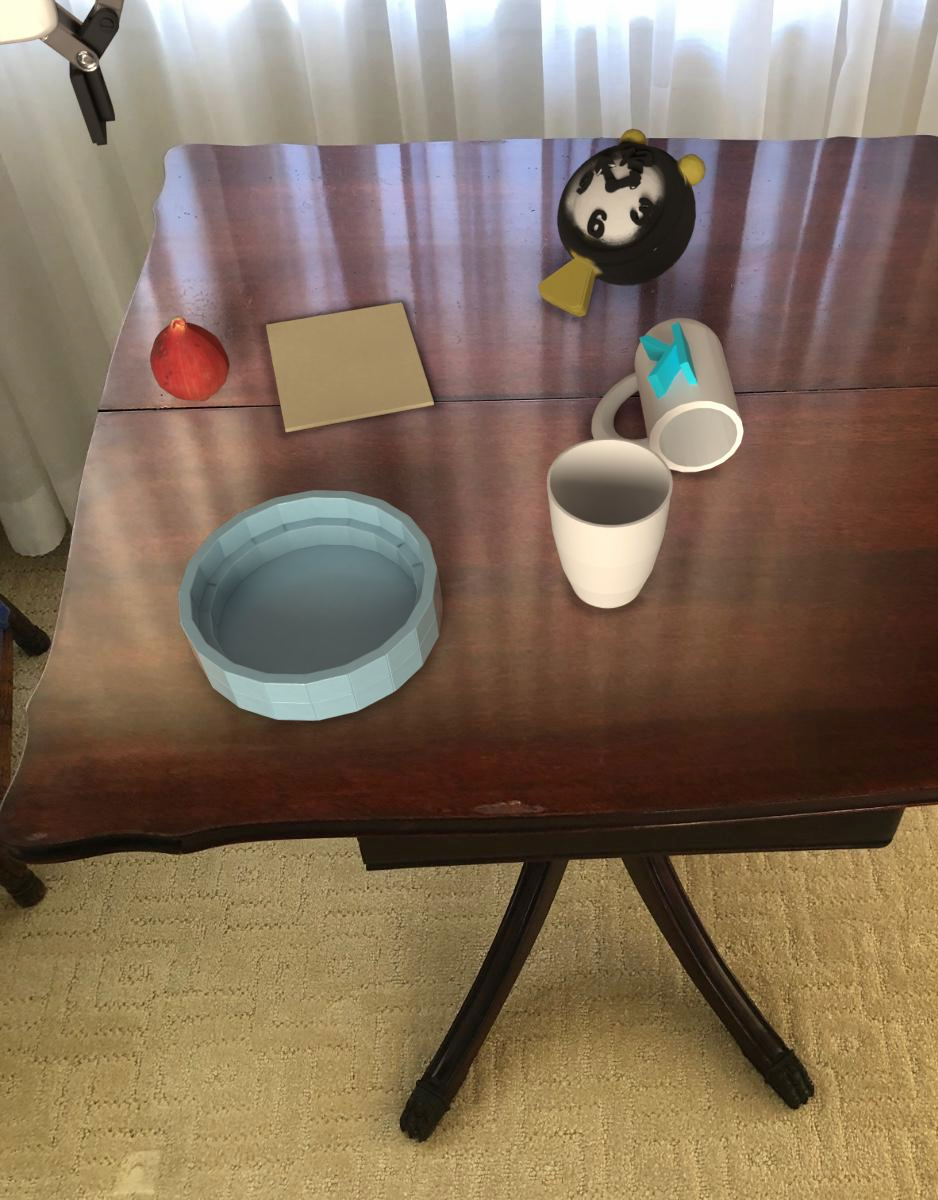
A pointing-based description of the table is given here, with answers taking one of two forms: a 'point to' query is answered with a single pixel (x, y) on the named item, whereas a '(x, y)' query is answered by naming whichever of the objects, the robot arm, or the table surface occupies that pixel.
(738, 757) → the table surface
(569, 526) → the cup
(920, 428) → the table surface
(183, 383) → the onion
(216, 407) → the table surface
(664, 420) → the mug
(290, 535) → the pan
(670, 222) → the alarm clock
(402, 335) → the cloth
